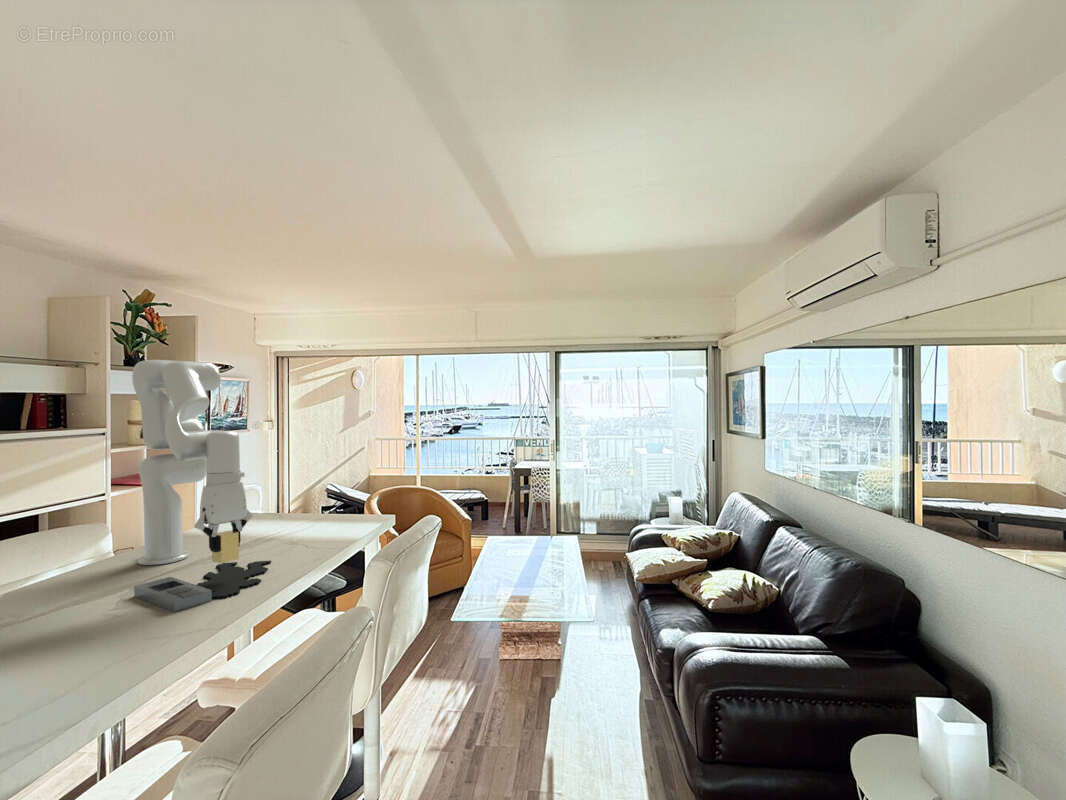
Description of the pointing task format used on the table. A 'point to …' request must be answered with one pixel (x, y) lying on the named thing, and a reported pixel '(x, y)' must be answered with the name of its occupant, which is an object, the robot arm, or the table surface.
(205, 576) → the black pixelated cutout
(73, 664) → the table surface
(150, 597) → the rail
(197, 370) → the robot arm
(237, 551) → the block
